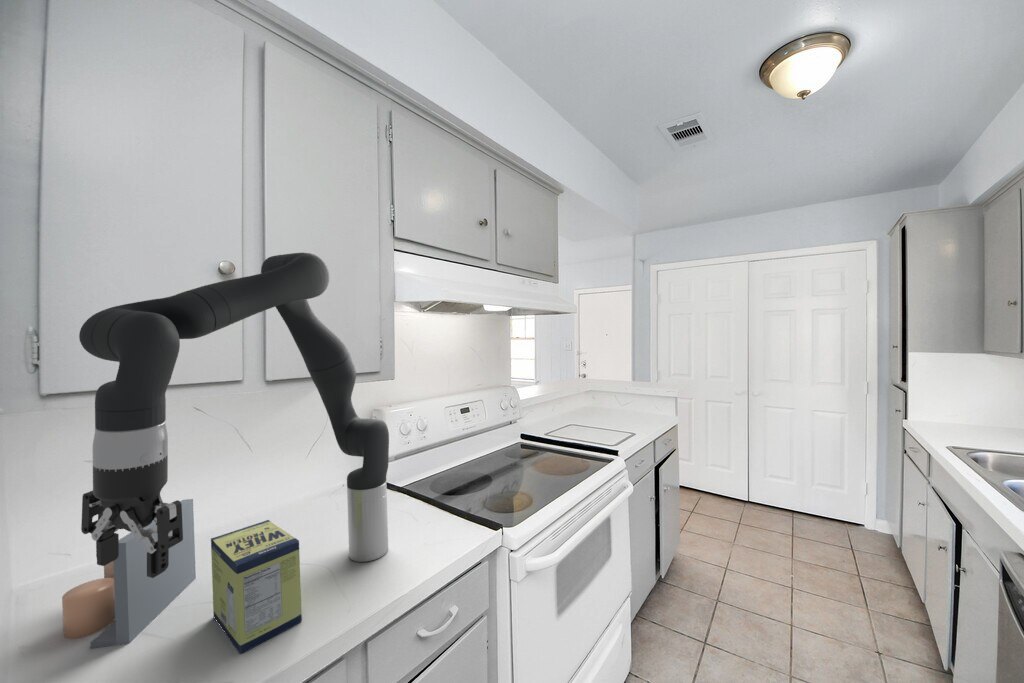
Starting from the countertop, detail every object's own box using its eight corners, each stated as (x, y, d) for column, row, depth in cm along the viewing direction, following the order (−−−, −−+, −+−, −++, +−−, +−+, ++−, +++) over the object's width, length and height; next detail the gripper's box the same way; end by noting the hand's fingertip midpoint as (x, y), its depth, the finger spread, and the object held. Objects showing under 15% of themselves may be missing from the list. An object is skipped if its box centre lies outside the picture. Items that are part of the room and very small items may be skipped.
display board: (165, 581, 91) (162, 501, 91) (195, 578, 92) (192, 498, 92) (90, 648, 72) (86, 546, 72) (129, 643, 73) (125, 542, 73)
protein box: (270, 590, 87) (268, 518, 87) (303, 621, 77) (300, 540, 77) (211, 617, 79) (209, 537, 79) (240, 656, 69) (236, 564, 69)
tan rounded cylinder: (85, 615, 81) (83, 580, 81) (125, 610, 82) (124, 575, 82) (51, 641, 74) (50, 603, 74) (96, 635, 75) (95, 597, 75)
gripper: (201, 454, 58) (199, 561, 60) (120, 440, 61) (121, 543, 62) (145, 475, 51) (144, 597, 52) (56, 458, 54) (58, 574, 55)
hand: (132, 568), depth 57 cm, fingers open, 8 cm apart
